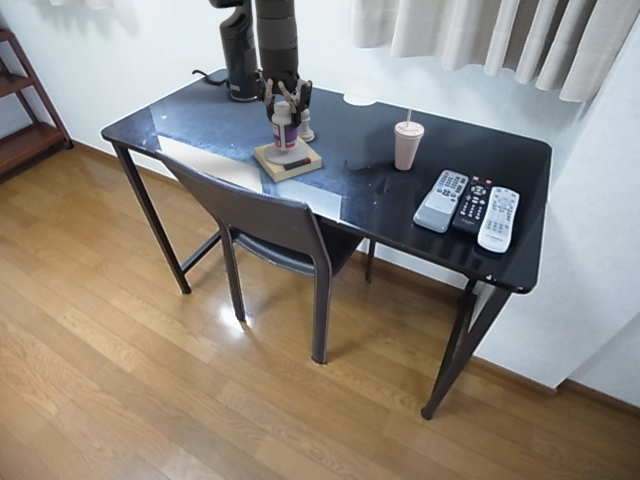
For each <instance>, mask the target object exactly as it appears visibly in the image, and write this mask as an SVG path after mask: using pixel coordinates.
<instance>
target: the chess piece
mask: <svg viewBox="0 0 640 480" xmlns="http://www.w3.org/2000/svg"><path fill="white" fill-rule="evenodd" d="M310 120H311V117H310V109H309V108H307V109H306V110H304V111H303V112H301V124H300V126H301V127H300V129H299V130H297V136H299V137H300V138H301V139H302V140H303V141H304V142H305V143H308V142H309V143H310V142H312V141H313V140H314V139H315V133H314V131H313V130H312V129H311V128H310V126H309V123H310Z"/></svg>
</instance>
